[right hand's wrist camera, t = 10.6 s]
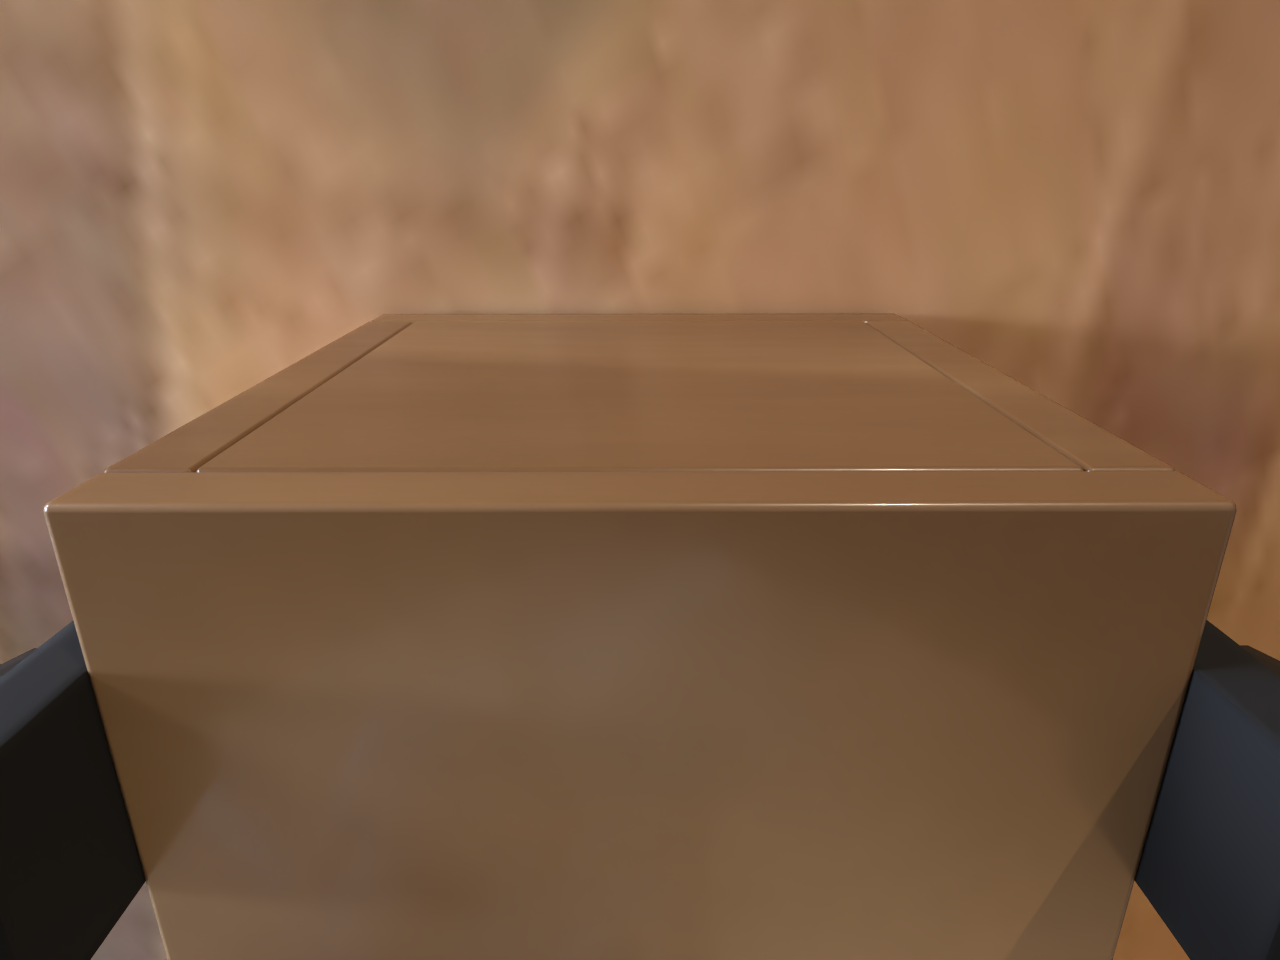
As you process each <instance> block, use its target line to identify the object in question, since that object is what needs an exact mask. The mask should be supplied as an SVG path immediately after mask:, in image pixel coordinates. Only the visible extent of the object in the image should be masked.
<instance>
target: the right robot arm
mask: <svg viewBox="0 0 1280 960" xmlns="http://www.w3.org/2000/svg"><path fill="white" fill-rule="evenodd" d="M145 881H146V880H145V876H144V872H143V869H142V865H141V862H140V858H139V854H138V851H137V847H136V844H135V840H134V836H133V833H132V829H131V826H130V822H129V818H128V815H127V811H126V808H125V804H124V800H123V797H122V793H121V790H120V786H119V782H118V779H117V775H116V772H115V768H114V764H113V761H112V757H111V754H110V750H109V746H108V743H107V739H106V736H105V732H104V728H103V725H102V721H101V718H100V714H99V710H98V707H97V703H96V700H95V696H94V692H93V689H92V685H91V682H90V678H89V674H88V671H87V667H86V664H85V660H84V656H83V653H82V649H81V646H80V642H79V638H78V635H77V631H76V628H75V624H74V620H73V621H72V622H71V623H70V624H68V625H67V626H66V627H64V628H63V629H62V630H61V631H59V632H58V633H57V634H55V635H54V636H53V637H52V638H50V639H49V640H48V641H47V642H45V643H44V644H43V645H41V646H40V647H39V648H34V649H32V650H30V651H28V652H26V653H24V654H22V655H20V656H17V657H15V658H13V659H11V660H9V661H7V662H5V663H3V664H1V665H0V960H90V959H91V958H92V957H93V955H94V954H95V952H96V951H97V949H98V948H99V947H100V945H101V944H102V942H103V941H104V939H105V938H106V937H107V935H108V934H109V932H110V931H111V930H112V928H113V927H114V925H115V924H116V922H117V921H118V920H119V918H120V917H121V915H122V914H123V912H124V911H125V910H126V908H127V907H128V905H129V904H130V902H131V901H132V900H133V898H134V897H135V895H136V894H137V893H138V891H139V890H140V888H141V887H142V885H143V884H144V883H145ZM1135 881H1136V883H1137V884H1138V886H1139V887H1140V888H1141V890H1142V891H1143V893H1144V894H1145V896H1146V897H1147V898H1148V900H1149V901H1150V903H1151V904H1152V906H1153V907H1154V908H1155V910H1156V911H1157V913H1158V914H1159V916H1160V917H1161V918H1162V920H1163V921H1164V923H1165V924H1166V925H1167V927H1168V928H1169V930H1170V931H1171V933H1172V934H1173V935H1174V937H1175V938H1176V940H1177V941H1178V943H1179V944H1180V945H1181V947H1182V948H1183V950H1184V951H1185V952H1186V954H1187V955H1188V957H1189V958H1190V960H1280V661H1278V660H1276V659H1274V658H1272V657H1270V656H1268V655H1266V654H1264V653H1262V652H1260V651H1258V650H1256V649H1254V648H1252V647H1250V646H1239V645H1238V644H1237V643H1236V642H1234V641H1233V640H1232V639H1231V638H1229V637H1228V636H1227V635H1225V634H1224V633H1223V632H1222V631H1220V630H1219V629H1218V628H1216V627H1215V626H1214V625H1213V624H1211V623H1210V622H1209V621H1207V620H1206V623H1205V626H1204V630H1203V634H1202V637H1201V641H1200V644H1199V648H1198V652H1197V655H1196V659H1195V663H1194V666H1193V670H1192V673H1191V677H1190V681H1189V684H1188V688H1187V692H1186V695H1185V699H1184V702H1183V706H1182V710H1181V713H1180V717H1179V720H1178V724H1177V728H1176V731H1175V735H1174V739H1173V742H1172V746H1171V749H1170V753H1169V757H1168V760H1167V764H1166V767H1165V771H1164V775H1163V778H1162V782H1161V786H1160V789H1159V793H1158V796H1157V800H1156V804H1155V807H1154V811H1153V814H1152V818H1151V822H1150V825H1149V829H1148V833H1147V836H1146V840H1145V843H1144V847H1143V851H1142V854H1141V858H1140V862H1139V865H1138V869H1137V872H1136V876H1135Z"/></svg>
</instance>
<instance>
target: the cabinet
mask: <svg viewBox="0 0 1280 960" xmlns="http://www.w3.org/2000/svg"><path fill="white" fill-rule="evenodd" d="M43 513H44V516H45V520H46V523H47V527H48V531H49V534H50V538H51V541H52V545H53V549H54V552H55V556H56V559H57V563H58V567H59V570H60V574H61V577H62V581H63V585H64V588H65V592H66V595H67V599H68V602H69V606H70V610H71V613H72V617H73V620H74V624H75V628H76V631H77V635H78V638H79V642H80V646H81V649H82V653H83V656H84V660H85V664H86V667H87V671H88V674H89V678H90V682H91V685H92V689H93V692H94V696H95V700H96V703H97V707H98V710H99V714H100V718H101V721H102V725H103V728H104V732H105V736H106V739H107V743H108V746H109V750H110V754H111V757H112V761H113V764H114V768H115V772H116V775H117V779H118V782H119V786H120V790H121V793H122V797H123V800H124V804H125V808H126V811H127V815H128V818H129V822H130V826H131V829H132V833H133V836H134V840H135V844H136V847H137V851H138V854H139V858H140V862H141V865H142V869H143V872H144V876H145V880H146V883H147V887H148V890H149V894H150V898H151V901H152V905H153V908H154V912H155V916H156V919H157V923H158V926H159V930H160V934H161V937H162V941H163V944H164V948H165V952H166V955H167V959H168V960H1112V959H1113V956H1114V952H1115V948H1116V945H1117V941H1118V937H1119V934H1120V930H1121V927H1122V923H1123V919H1124V916H1125V912H1126V909H1127V905H1128V901H1129V898H1130V894H1131V890H1132V887H1133V883H1134V880H1135V876H1136V872H1137V869H1138V865H1139V862H1140V858H1141V854H1142V851H1143V847H1144V843H1145V840H1146V836H1147V833H1148V829H1149V825H1150V822H1151V818H1152V814H1153V811H1154V807H1155V804H1156V800H1157V796H1158V793H1159V789H1160V786H1161V782H1162V778H1163V775H1164V771H1165V767H1166V764H1167V760H1168V757H1169V753H1170V749H1171V746H1172V742H1173V739H1174V735H1175V731H1176V728H1177V724H1178V720H1179V717H1180V713H1181V710H1182V706H1183V702H1184V699H1185V695H1186V692H1187V688H1188V684H1189V681H1190V677H1191V673H1192V670H1193V666H1194V663H1195V659H1196V655H1197V652H1198V648H1199V644H1200V641H1201V637H1202V634H1203V630H1204V626H1205V623H1206V619H1207V616H1208V612H1209V608H1210V605H1211V601H1212V597H1213V594H1214V590H1215V587H1216V583H1217V579H1218V576H1219V572H1220V569H1221V565H1222V561H1223V558H1224V554H1225V550H1226V547H1227V543H1228V540H1229V536H1230V532H1231V529H1232V525H1233V522H1234V518H1235V514H1236V505H1235V503H1234V502H1233V501H1231V500H1229V499H1227V498H1226V497H1224V496H1222V495H1220V494H1218V493H1217V492H1215V491H1213V490H1211V489H1209V488H1208V487H1206V486H1204V485H1202V484H1200V483H1199V482H1197V481H1195V480H1193V479H1191V478H1190V477H1188V476H1186V475H1184V474H1182V473H1180V472H1178V471H1175V469H1174V468H1173V467H1171V466H1169V465H1167V464H1166V463H1164V462H1162V461H1160V460H1158V459H1157V458H1155V457H1153V456H1151V455H1149V454H1148V453H1146V452H1144V451H1142V450H1140V449H1139V448H1137V447H1135V446H1133V445H1131V444H1130V443H1128V442H1126V441H1124V440H1122V439H1121V438H1119V437H1117V436H1115V435H1113V434H1112V433H1110V432H1108V431H1106V430H1104V429H1103V428H1101V427H1099V426H1097V425H1095V424H1094V423H1092V422H1090V421H1088V420H1086V419H1085V418H1083V417H1081V416H1079V415H1077V414H1075V413H1074V412H1072V411H1070V410H1068V409H1066V408H1065V407H1063V406H1061V405H1059V404H1057V403H1056V402H1054V401H1052V400H1050V399H1048V398H1047V397H1045V396H1043V395H1041V394H1039V393H1038V392H1036V391H1034V390H1032V389H1030V388H1029V387H1027V386H1025V385H1023V384H1021V383H1020V382H1018V381H1016V380H1014V379H1012V378H1011V377H1009V376H1007V375H1005V374H1003V373H1002V372H1000V371H998V370H996V369H994V368H993V367H991V366H989V365H987V364H985V363H984V362H982V361H980V360H978V359H976V358H975V357H973V356H971V355H969V354H967V353H965V352H964V351H962V350H960V349H958V348H956V347H955V346H953V345H951V344H949V343H947V342H946V341H944V340H942V339H940V338H938V337H937V336H935V335H933V334H931V333H929V332H928V331H926V330H924V329H922V328H920V327H919V326H917V325H915V324H913V323H911V322H909V321H907V320H905V319H904V318H902V317H900V316H898V315H896V314H383V315H381V316H379V317H377V318H376V319H374V320H372V321H370V322H368V323H366V324H364V325H362V326H360V327H359V328H357V329H355V330H353V331H351V332H350V333H348V334H346V335H344V336H343V337H341V338H339V339H337V340H335V341H334V342H332V343H330V344H328V345H326V346H325V347H323V348H321V349H319V350H318V351H316V352H314V353H312V354H310V355H309V356H307V357H305V358H303V359H301V360H300V361H298V362H296V363H294V364H292V365H291V366H289V367H287V368H285V369H284V370H282V371H280V372H278V373H276V374H275V375H273V376H271V377H269V378H267V379H266V380H264V381H262V382H260V383H259V384H257V385H255V386H253V387H251V388H250V389H248V390H246V391H244V392H242V393H241V394H239V395H237V396H235V397H234V398H232V399H230V400H228V401H226V402H225V403H223V404H221V405H219V406H217V407H216V408H214V409H212V410H210V411H208V412H207V413H205V414H203V415H201V416H200V417H198V418H196V419H194V420H192V421H191V422H189V423H187V424H185V425H183V426H182V427H180V428H178V429H176V430H175V431H173V432H171V433H169V434H167V435H166V436H164V437H162V438H160V439H158V440H157V441H155V442H153V443H151V444H150V445H148V446H146V447H144V448H142V449H141V450H139V451H137V452H135V453H133V454H132V455H130V456H128V457H126V458H124V459H123V460H121V461H119V462H117V463H116V464H114V465H112V466H110V467H108V468H107V469H105V471H104V473H100V474H98V475H96V476H94V477H92V478H91V479H89V480H87V481H85V482H84V483H82V484H80V485H78V486H76V487H75V488H73V489H71V490H69V491H68V492H66V493H64V494H62V495H60V496H59V497H57V498H55V499H53V500H52V501H50V502H48V503H46V505H45V506H44V512H43Z"/></svg>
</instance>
